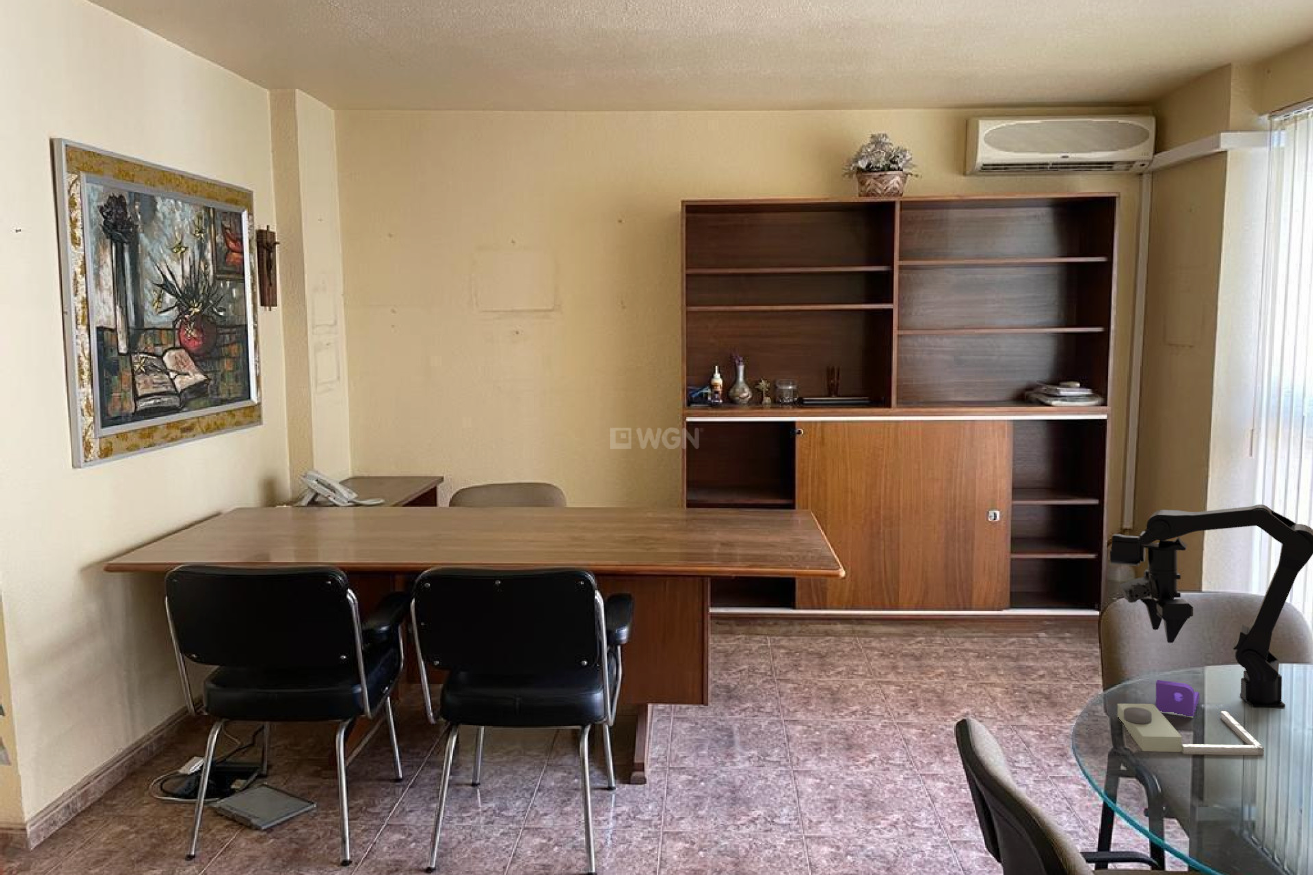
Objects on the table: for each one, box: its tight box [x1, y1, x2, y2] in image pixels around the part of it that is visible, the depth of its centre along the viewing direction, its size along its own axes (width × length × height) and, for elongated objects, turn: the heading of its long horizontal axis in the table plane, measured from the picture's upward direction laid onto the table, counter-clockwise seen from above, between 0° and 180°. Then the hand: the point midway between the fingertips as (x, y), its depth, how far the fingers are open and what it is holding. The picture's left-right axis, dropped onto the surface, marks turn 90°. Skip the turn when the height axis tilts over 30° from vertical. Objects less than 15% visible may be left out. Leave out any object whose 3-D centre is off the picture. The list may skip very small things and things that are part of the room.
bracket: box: [1155, 679, 1200, 716], centre depth 205 cm, size 12×7×7 cm, turn 145°
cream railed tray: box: [1117, 703, 1265, 756], centre depth 191 cm, size 22×17×4 cm
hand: (1162, 635), depth 214 cm, fingers open, 9 cm apart
